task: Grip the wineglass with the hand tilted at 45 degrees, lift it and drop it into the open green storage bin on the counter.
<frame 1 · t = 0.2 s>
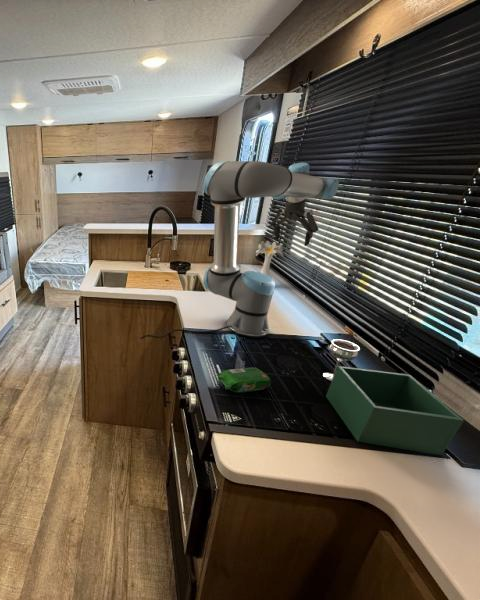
hand: (291, 242, 149), 28 cm above the table, tool tilted 20°, fingers open, 13 cm apart
snack package: (242, 387, 94), on the table
open green storage bin: (376, 422, 80), on the table
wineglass: (332, 377, 98), on the table
flower vase: (260, 285, 174), on the table
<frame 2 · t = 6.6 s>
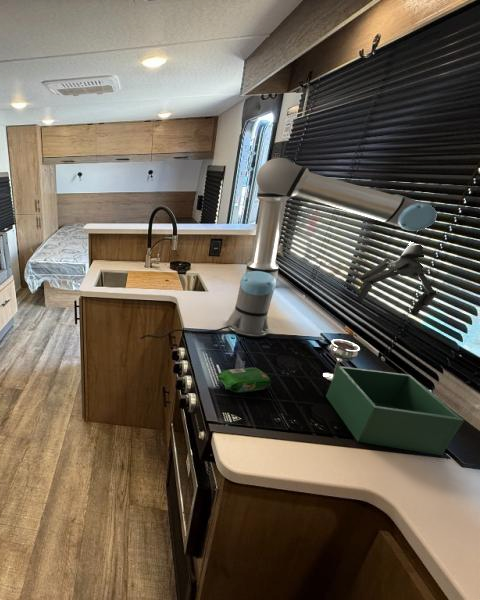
hand: (384, 306, 96), 21 cm above the table, tool tilted 40°, fingers open, 13 cm apart
nothing on the table moved.
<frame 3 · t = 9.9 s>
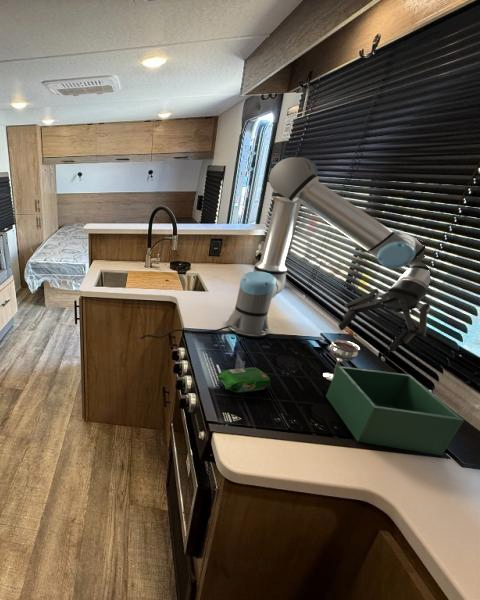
hand: (364, 338, 95), 13 cm above the table, tool tilted 45°, fingers open, 13 cm apart
nothing on the table moved.
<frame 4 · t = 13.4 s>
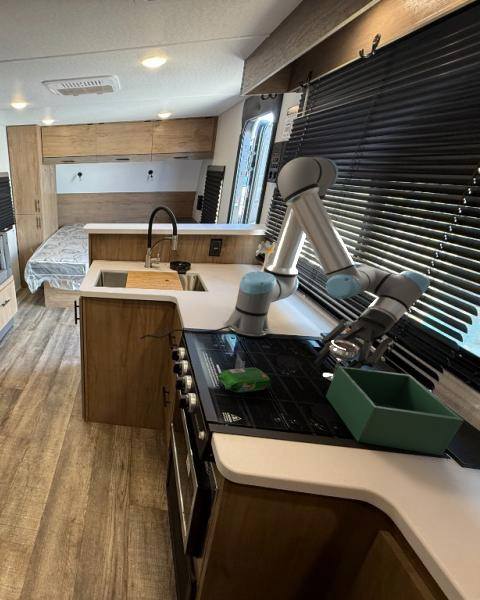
hand: (328, 370, 95), 3 cm above the table, tool tilted 45°, fingers closed on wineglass, 7 cm apart
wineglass: (332, 377, 98), on the table, touching gripper
everything else where it was.
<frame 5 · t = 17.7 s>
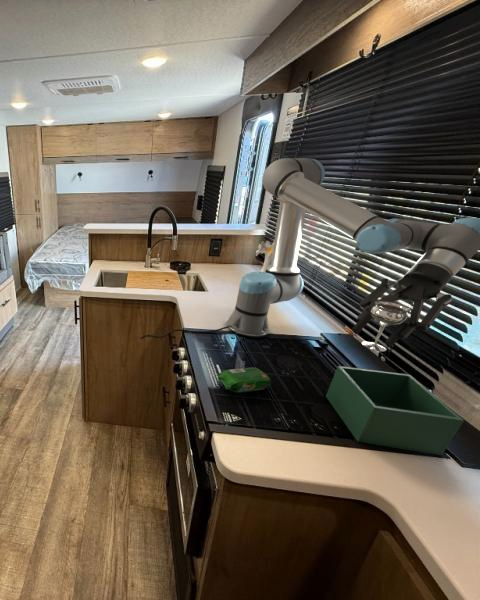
hand: (370, 337, 80), 21 cm above the table, tool tilted 45°, fingers closed on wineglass, 7 cm apart
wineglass: (373, 346, 83), point 17 cm above the table, touching gripper
everything else where it was.
when the fingers open (11 cm above the table, at t = 22.1 s): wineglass drops 7 cm, resting on open green storage bin.
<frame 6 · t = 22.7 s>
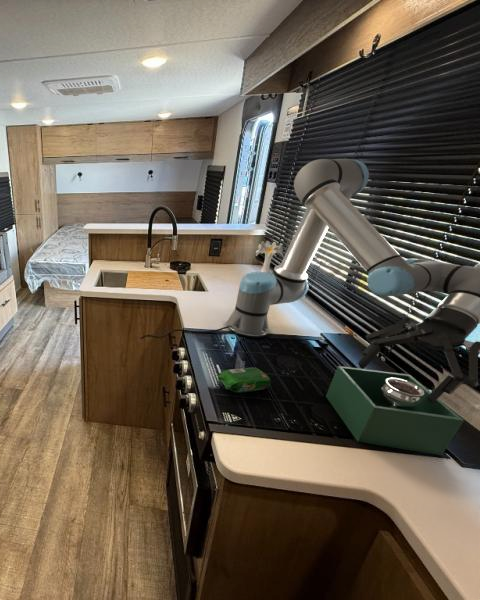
hand: (392, 382, 74), 14 cm above the table, tool tilted 45°, fingers open, 13 cm apart
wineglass: (384, 424, 79), point 1 cm above the table, touching open green storage bin
everything else where it was.
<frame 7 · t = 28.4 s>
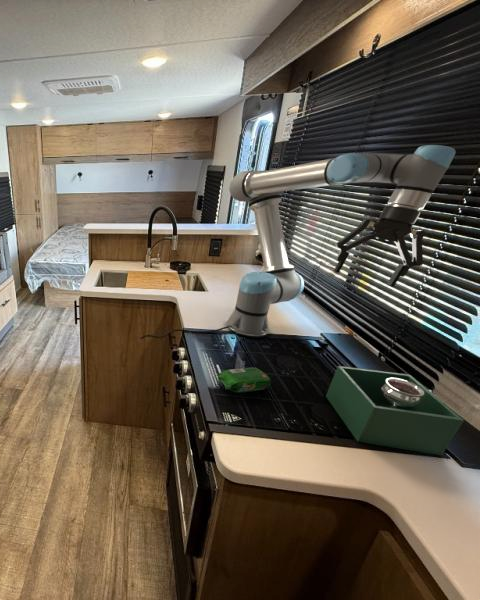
hand: (362, 278, 93), 30 cm above the table, tool pointing down, fingers open, 13 cm apart
nothing on the table moved.
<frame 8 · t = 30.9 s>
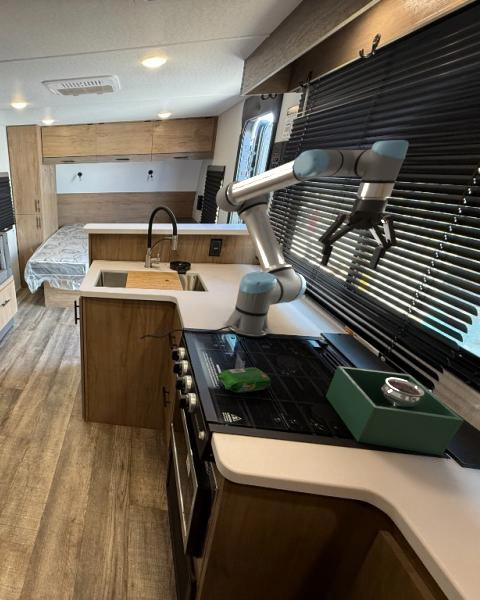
hand: (347, 266, 100), 32 cm above the table, tool pointing down, fingers open, 13 cm apart
nothing on the table moved.
at the end: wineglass inside the target area in the open green storage bin (1.5 cm from its centre), point 0.6 cm above the open green storage bin's base; the gripper is holding nothing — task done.
